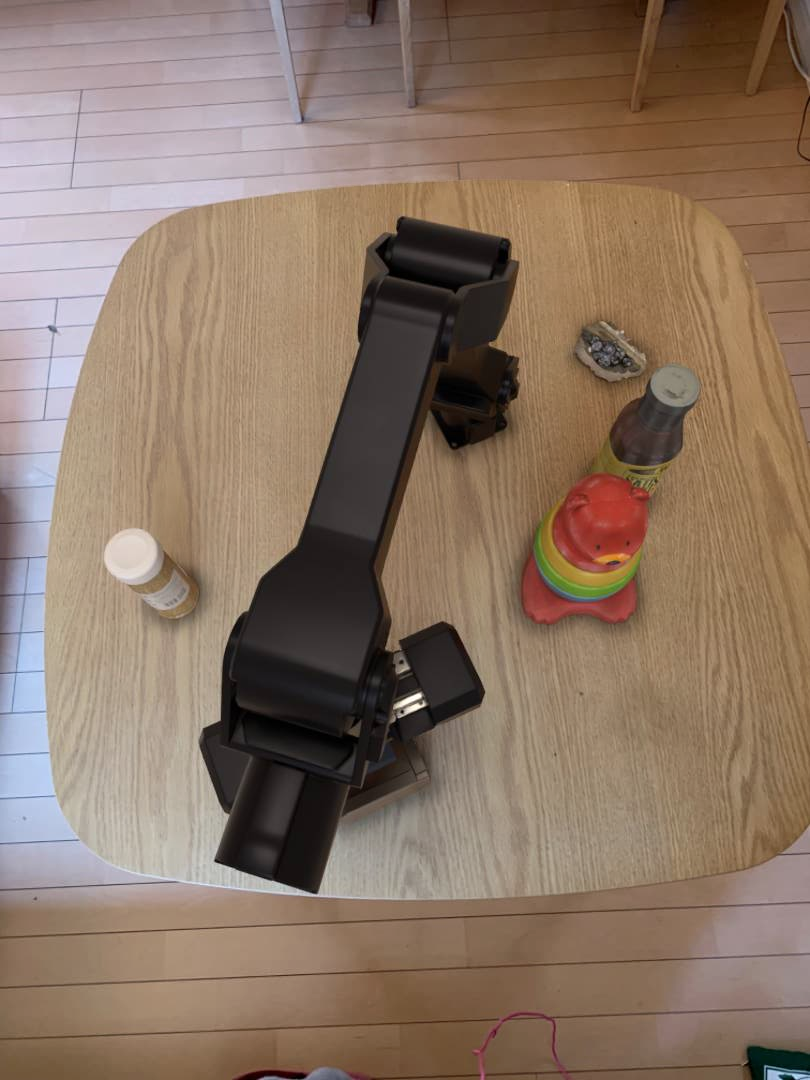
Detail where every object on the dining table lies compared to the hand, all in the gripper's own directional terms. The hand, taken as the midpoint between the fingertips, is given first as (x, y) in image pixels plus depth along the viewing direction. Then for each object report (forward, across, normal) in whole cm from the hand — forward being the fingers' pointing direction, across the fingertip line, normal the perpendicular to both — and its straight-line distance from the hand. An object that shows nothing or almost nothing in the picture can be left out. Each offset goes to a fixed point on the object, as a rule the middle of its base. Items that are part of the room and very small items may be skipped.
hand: (354, 733), depth 65 cm
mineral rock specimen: (+13, -40, -27) cm, 50 cm away
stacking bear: (+13, -25, -7) cm, 29 cm away
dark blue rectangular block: (+1, 0, 0) cm, 1 cm away
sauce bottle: (+13, -33, -13) cm, 38 cm away
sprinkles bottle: (+13, +11, -21) cm, 27 cm away
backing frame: (+12, 0, 0) cm, 12 cm away
